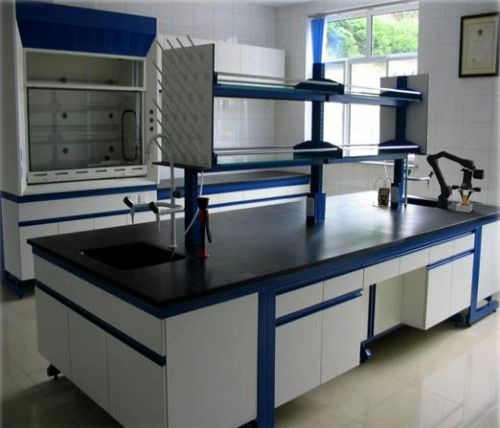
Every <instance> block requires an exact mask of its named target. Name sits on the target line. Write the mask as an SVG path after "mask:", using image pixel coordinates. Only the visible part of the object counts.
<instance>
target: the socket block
mask: <svg viewBox="0 0 500 428" xmlns="http://www.w3.org/2000/svg"><path fill="white" fill-rule="evenodd" d="M473 204H474V203H470V204H469V205H467V206H466V205H462V204H459V202H458V203H457V204H456V205H455V212H464V213H470V212H472V210H473Z"/></svg>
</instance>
